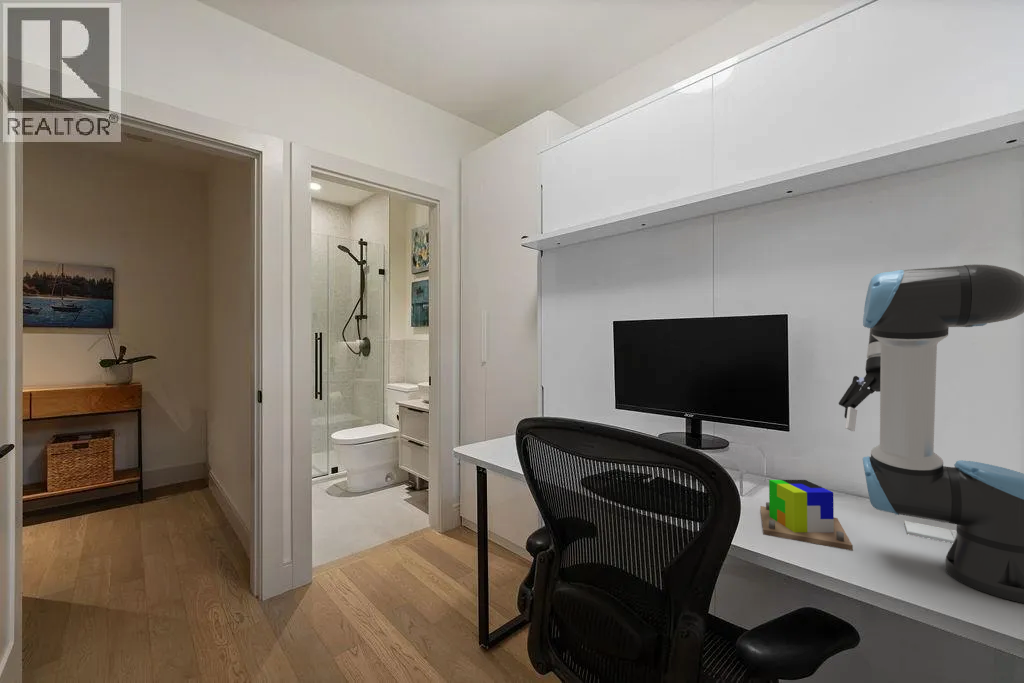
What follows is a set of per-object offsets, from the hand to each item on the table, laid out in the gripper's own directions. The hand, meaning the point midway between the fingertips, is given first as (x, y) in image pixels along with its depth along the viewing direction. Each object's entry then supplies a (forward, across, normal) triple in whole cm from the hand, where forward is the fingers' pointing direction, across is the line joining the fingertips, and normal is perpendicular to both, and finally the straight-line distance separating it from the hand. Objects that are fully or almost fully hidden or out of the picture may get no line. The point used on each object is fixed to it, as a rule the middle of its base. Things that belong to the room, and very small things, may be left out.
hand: (876, 430), depth 116 cm
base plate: (+32, +6, +13) cm, 35 cm away
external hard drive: (+23, -7, -14) cm, 28 cm away
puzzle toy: (+31, +6, +14) cm, 35 cm away
